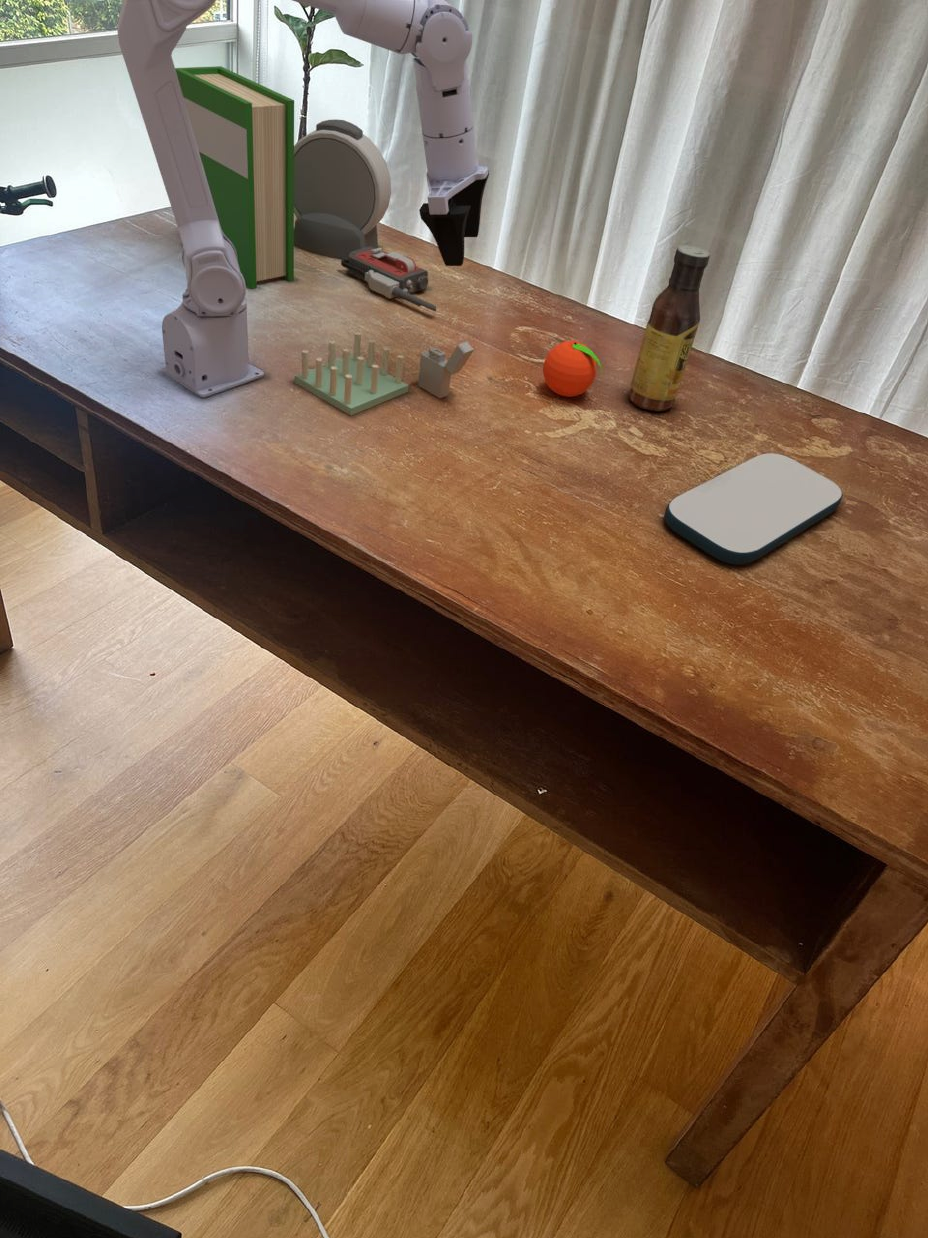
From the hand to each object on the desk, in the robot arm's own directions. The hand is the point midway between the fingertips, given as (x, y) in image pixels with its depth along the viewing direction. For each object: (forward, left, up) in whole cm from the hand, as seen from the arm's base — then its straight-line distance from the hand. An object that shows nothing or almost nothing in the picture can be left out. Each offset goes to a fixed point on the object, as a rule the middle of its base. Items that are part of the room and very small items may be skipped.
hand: (462, 249), depth 108 cm
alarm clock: (+17, +40, -16) cm, 46 cm away
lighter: (-6, -4, -16) cm, 17 cm away
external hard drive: (+3, -44, -16) cm, 47 cm away
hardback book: (-1, +42, -16) cm, 45 cm away
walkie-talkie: (+13, +22, -16) cm, 30 cm away
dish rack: (-14, +4, -16) cm, 21 cm away
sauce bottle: (+16, -22, -16) cm, 32 cm away
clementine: (+8, -14, -16) cm, 23 cm away
